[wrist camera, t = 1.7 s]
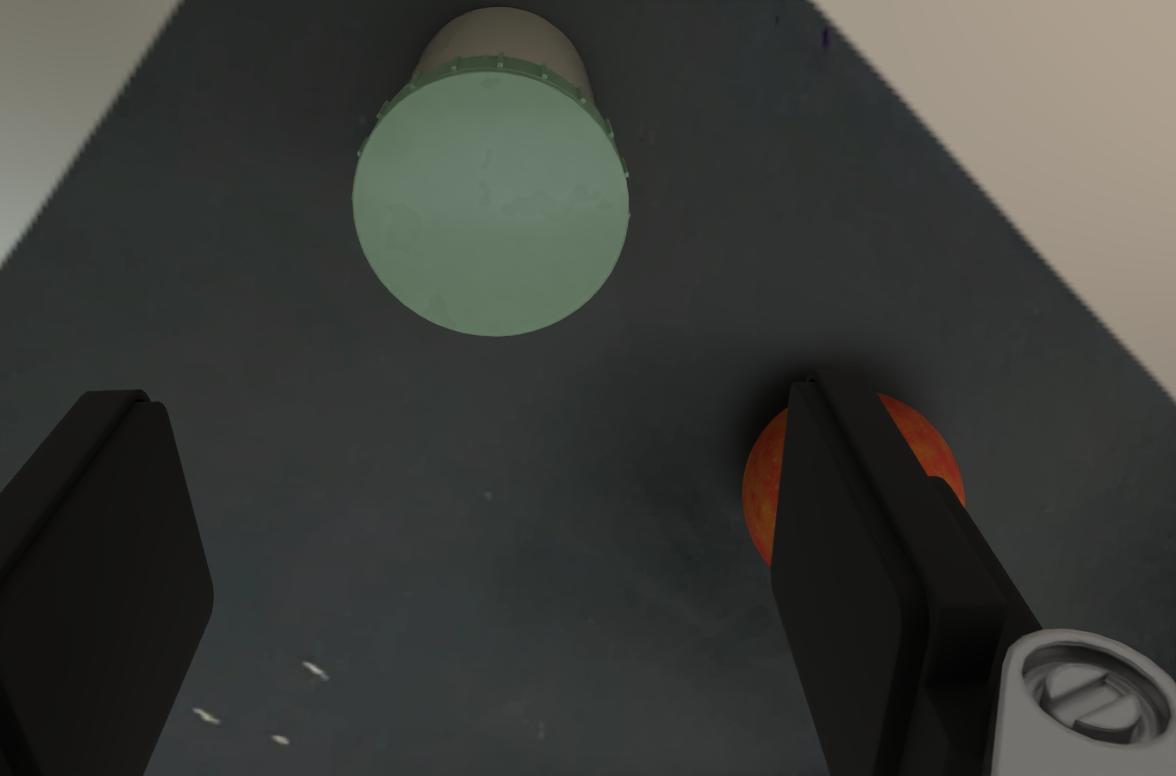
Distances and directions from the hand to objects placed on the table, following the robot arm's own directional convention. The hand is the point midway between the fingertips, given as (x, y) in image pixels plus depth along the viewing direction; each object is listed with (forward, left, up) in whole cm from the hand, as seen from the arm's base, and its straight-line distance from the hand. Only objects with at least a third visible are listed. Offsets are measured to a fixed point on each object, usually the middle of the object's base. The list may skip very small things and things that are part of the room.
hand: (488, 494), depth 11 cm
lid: (0, 0, -10) cm, 10 cm away
